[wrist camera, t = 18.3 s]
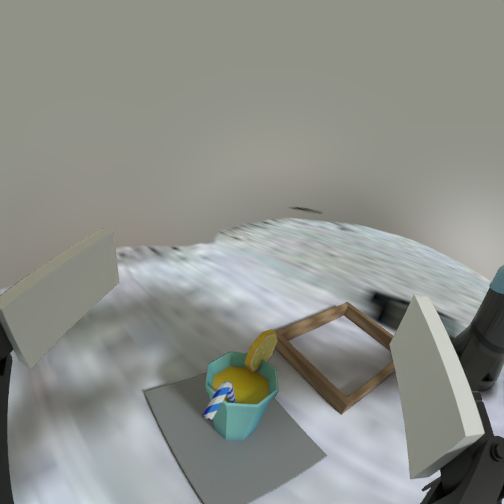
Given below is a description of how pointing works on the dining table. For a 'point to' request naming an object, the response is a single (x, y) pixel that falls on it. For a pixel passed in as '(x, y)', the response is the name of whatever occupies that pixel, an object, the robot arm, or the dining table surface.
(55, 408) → the dining table surface
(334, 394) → the wooden picture frame
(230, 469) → the board
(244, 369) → the cup
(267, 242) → the dining table surface
